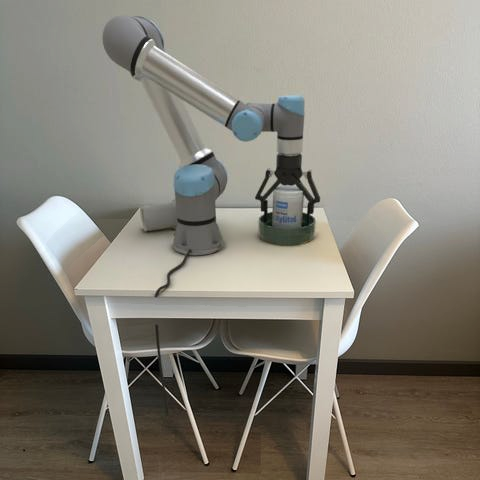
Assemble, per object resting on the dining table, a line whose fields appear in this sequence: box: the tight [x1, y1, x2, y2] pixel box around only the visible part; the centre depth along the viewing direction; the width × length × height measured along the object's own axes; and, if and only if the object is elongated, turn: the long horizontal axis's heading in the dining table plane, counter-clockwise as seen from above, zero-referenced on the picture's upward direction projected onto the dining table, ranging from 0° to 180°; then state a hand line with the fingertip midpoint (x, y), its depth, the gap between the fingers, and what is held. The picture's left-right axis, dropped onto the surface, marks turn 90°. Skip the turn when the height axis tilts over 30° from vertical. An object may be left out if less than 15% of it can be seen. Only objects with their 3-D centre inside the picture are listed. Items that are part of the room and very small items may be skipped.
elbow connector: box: [139, 197, 178, 232], centre depth 160 cm, size 18×11×20 cm
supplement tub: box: [271, 184, 305, 229], centre depth 148 cm, size 10×10×15 cm
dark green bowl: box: [258, 211, 317, 246], centre depth 150 cm, size 18×18×6 cm
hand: (286, 222), depth 149 cm, fingers open, 13 cm apart
